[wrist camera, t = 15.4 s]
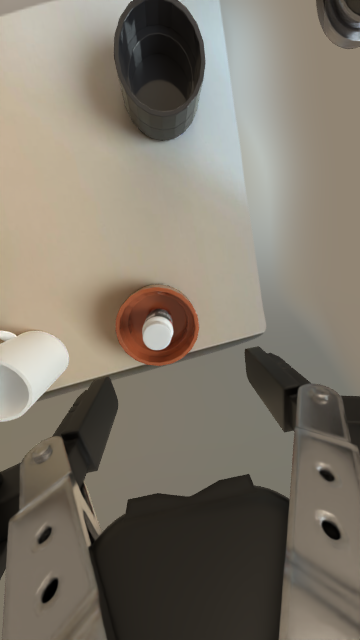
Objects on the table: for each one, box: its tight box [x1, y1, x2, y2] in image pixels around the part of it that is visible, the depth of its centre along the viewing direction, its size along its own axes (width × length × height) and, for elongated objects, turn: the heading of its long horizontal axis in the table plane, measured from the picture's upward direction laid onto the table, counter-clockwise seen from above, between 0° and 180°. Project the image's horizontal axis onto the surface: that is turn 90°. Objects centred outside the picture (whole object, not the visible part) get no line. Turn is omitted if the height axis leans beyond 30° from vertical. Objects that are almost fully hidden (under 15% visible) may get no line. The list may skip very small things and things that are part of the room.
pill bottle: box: [142, 308, 173, 350], centre depth 29 cm, size 5×5×8 cm
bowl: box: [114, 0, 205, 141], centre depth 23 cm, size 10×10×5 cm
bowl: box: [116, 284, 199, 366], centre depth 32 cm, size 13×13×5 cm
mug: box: [0, 330, 69, 421], centre depth 29 cm, size 13×10×10 cm
